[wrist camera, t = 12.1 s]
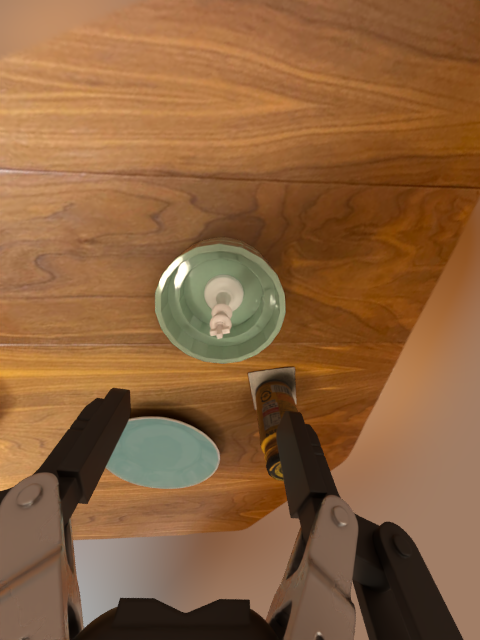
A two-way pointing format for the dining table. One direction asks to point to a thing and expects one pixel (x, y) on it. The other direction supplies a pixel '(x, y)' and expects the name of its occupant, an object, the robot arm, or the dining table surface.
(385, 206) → the dining table surface
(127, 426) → the plate
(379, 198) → the dining table surface
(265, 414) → the condiment
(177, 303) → the bowl
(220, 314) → the chess piece
